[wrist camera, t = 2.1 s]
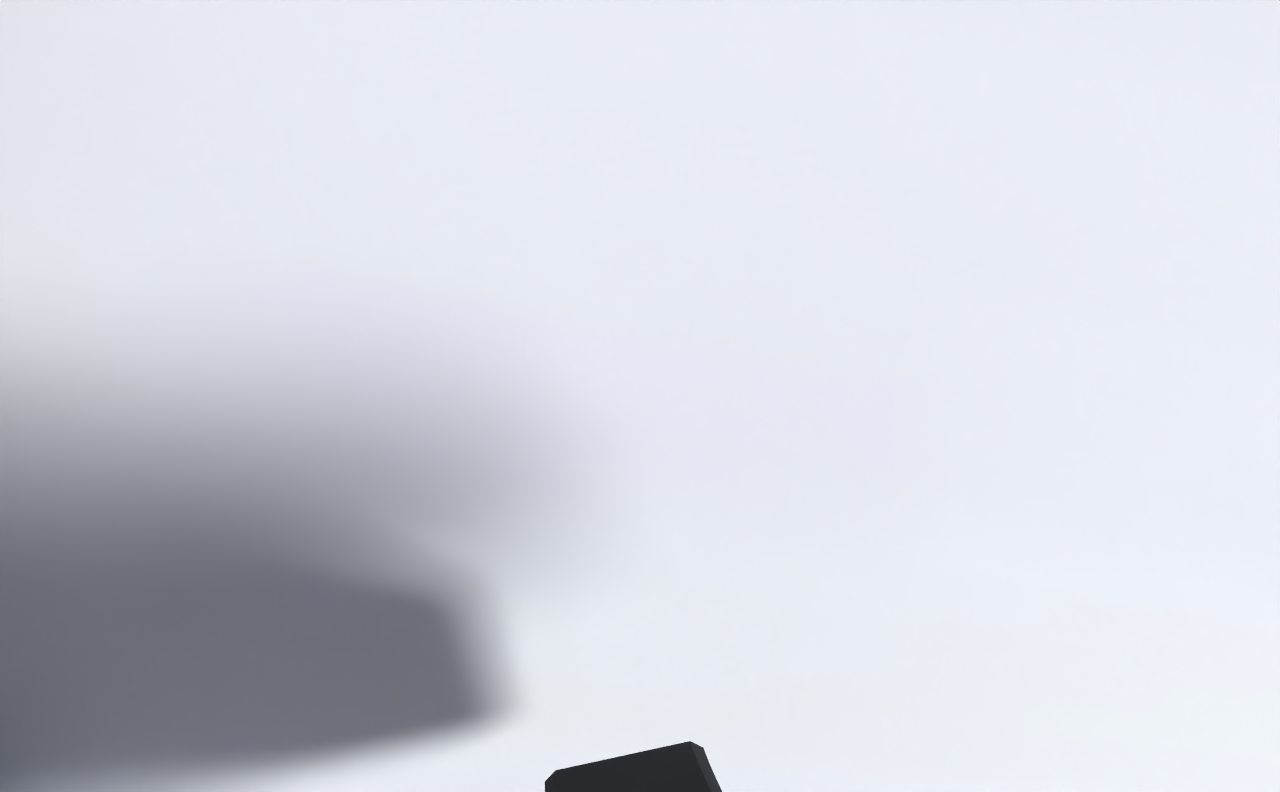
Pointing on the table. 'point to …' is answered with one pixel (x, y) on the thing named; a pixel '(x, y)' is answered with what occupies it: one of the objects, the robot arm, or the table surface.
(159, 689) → the table surface
